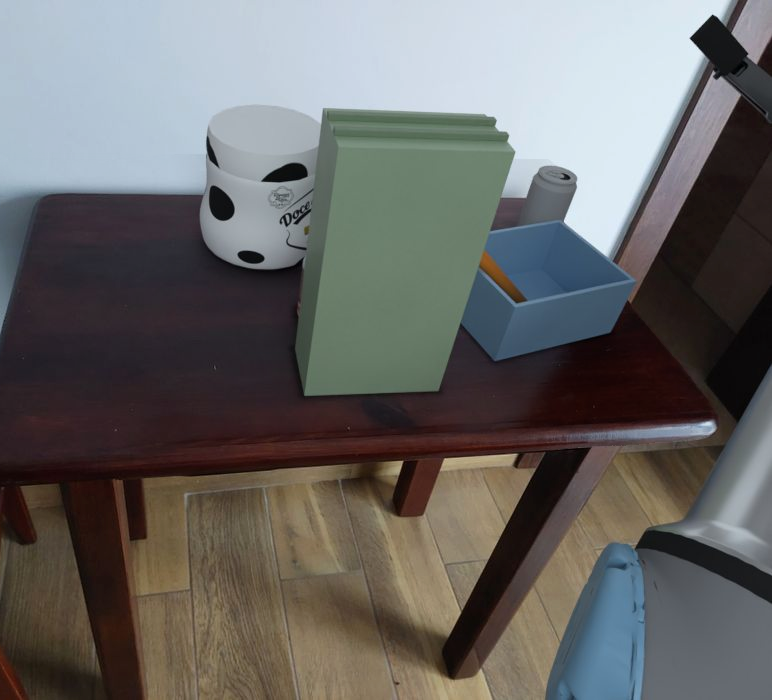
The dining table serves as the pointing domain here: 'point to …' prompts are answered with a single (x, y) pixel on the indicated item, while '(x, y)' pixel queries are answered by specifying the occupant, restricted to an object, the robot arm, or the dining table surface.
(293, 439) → the dining table surface
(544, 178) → the beverage can
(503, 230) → the bin
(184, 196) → the dining table surface
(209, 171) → the doce de leite jar
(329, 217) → the stand
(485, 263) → the orange round-ended rod
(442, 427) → the dining table surface
